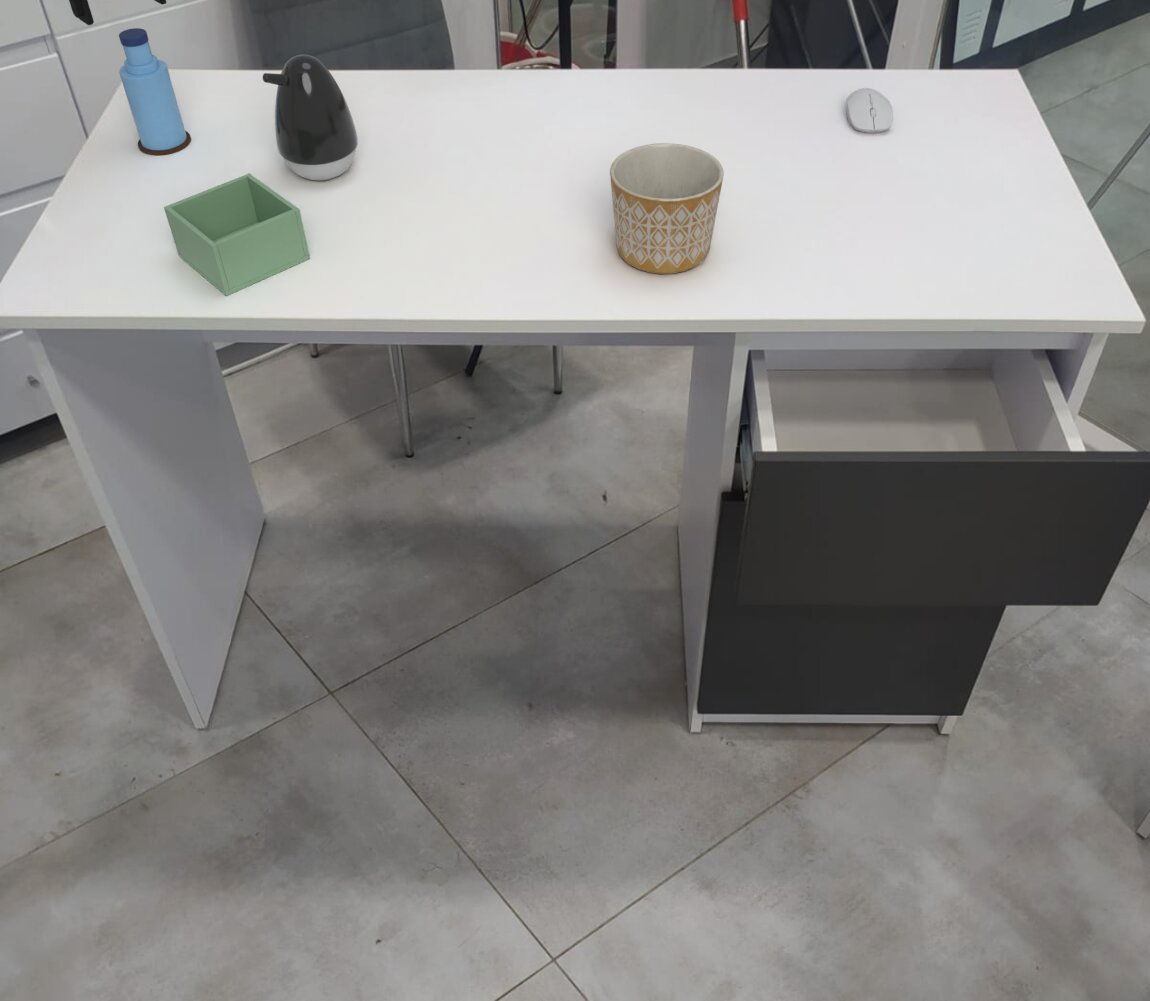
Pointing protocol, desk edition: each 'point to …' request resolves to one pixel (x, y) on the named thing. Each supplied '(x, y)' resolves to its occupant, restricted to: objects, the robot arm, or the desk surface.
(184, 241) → the bin
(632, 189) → the planter
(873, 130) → the computer mouse
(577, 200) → the desk surface
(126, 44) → the bottle
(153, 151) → the coaster
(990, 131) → the desk surface
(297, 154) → the pump dispenser
